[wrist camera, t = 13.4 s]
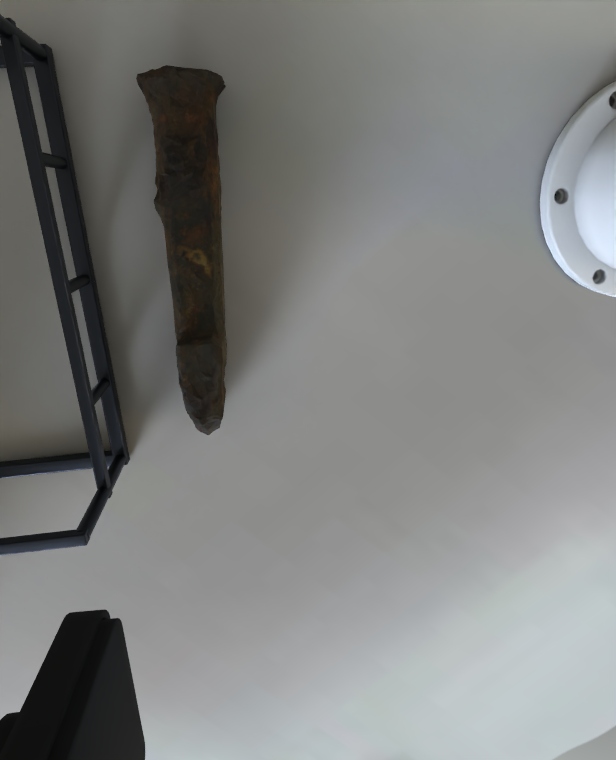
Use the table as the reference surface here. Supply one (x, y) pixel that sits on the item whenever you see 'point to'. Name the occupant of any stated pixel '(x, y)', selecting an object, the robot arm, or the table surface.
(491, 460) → the table surface
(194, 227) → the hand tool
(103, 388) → the drying rack
